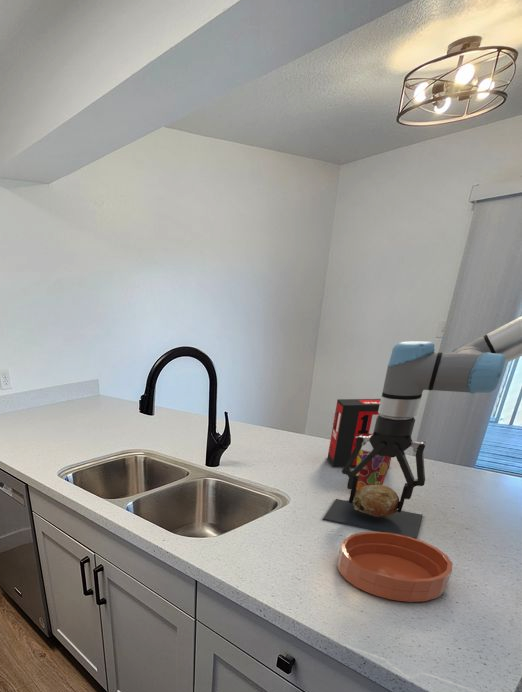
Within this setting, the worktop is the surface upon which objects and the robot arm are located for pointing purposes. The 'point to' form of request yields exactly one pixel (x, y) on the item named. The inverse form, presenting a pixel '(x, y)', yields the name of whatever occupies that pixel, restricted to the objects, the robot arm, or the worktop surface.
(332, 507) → the placemat
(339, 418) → the cleaning product box
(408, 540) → the bowl
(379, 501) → the bread roll
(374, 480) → the smoothie
